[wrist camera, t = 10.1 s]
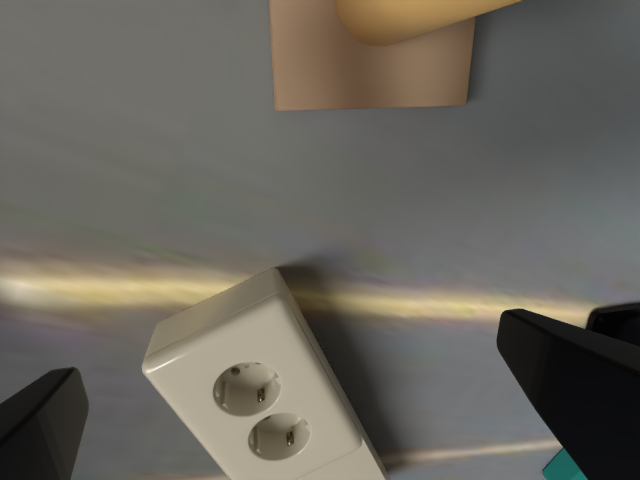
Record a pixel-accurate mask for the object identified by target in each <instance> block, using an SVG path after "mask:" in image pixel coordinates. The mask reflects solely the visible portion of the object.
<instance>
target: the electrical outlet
mask: <svg viewBox="0 0 640 480" xmlns="http://www.w3.org/2000/svg"><path fill="white" fill-rule="evenodd" d="M142 371H143V373H144V375H145V376H146V377H147V379H148V380H149V381H150V382H151V383H152V385H153V386H154V387H155V388H156V390H157V391H158V392H159V393H160V394H161V396H162V397H163V398H164V399H165V400H166V402H167V403H168V404H169V405H170V407H171V408H172V409H173V410H174V411H175V413H176V414H177V415H178V416H179V418H180V419H181V420H182V421H183V422H184V424H185V425H186V426H187V427H188V429H189V430H190V431H191V432H192V433H193V435H194V436H195V437H196V438H197V440H198V441H199V442H200V443H201V444H202V446H203V447H204V448H205V449H206V450H207V452H208V453H209V454H210V455H211V457H212V458H213V459H214V460H215V461H216V463H217V464H218V465H219V466H220V468H221V469H222V470H223V471H224V472H225V474H226V475H227V476H228V477H229V479H230V480H390V479H389V477H388V474H387V471H386V469H385V467H384V465H383V463H382V461H381V459H380V458H379V456H378V454H377V452H376V450H375V448H374V446H373V445H372V443H371V441H370V439H369V437H368V435H367V433H366V432H365V430H364V428H363V426H362V424H361V422H360V420H359V419H358V417H357V415H356V413H355V411H354V409H353V407H352V406H351V404H350V402H349V400H348V398H347V396H346V394H345V393H344V391H343V389H342V387H341V385H340V383H339V381H338V379H337V378H336V376H335V374H334V372H333V370H332V368H331V366H330V365H329V363H328V361H327V359H326V357H325V355H324V353H323V352H322V350H321V348H320V346H319V344H318V342H317V340H316V339H315V337H314V335H313V333H312V331H311V329H310V327H309V326H308V324H307V322H306V320H305V318H304V316H303V314H302V313H301V311H300V309H299V307H298V305H297V303H296V301H295V300H294V298H293V296H292V294H291V292H290V290H289V288H288V287H287V285H286V283H285V281H284V279H283V277H282V275H281V274H280V272H279V270H278V269H276V268H271V269H269V270H267V271H264V272H262V273H260V274H258V275H256V276H254V277H252V278H250V279H248V280H246V281H244V282H242V283H240V284H237V285H235V286H233V287H231V288H229V289H227V290H225V291H223V292H221V293H219V294H217V295H215V296H212V297H210V298H208V299H206V300H204V301H202V302H200V303H198V304H196V305H194V306H192V307H190V308H187V309H185V310H183V311H181V312H179V313H177V314H175V315H173V316H171V317H169V318H167V319H165V320H162V321H160V322H159V323H157V325H156V327H155V330H154V332H153V335H152V338H151V341H150V343H149V346H148V349H147V352H146V355H145V357H144V361H143V363H142Z"/></svg>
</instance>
